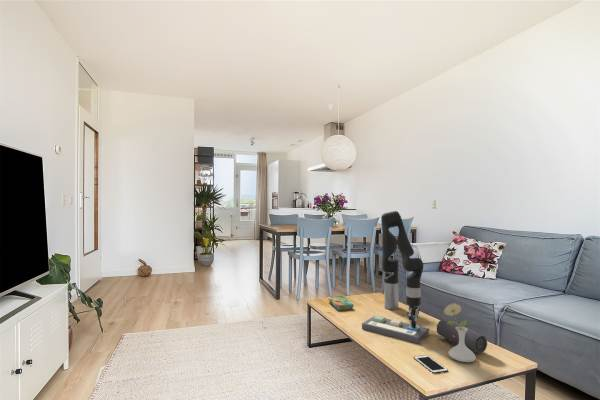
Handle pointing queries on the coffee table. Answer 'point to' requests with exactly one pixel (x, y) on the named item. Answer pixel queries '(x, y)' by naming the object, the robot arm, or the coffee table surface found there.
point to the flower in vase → (460, 350)
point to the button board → (396, 330)
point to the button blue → (414, 328)
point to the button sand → (396, 323)
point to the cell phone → (430, 364)
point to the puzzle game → (341, 303)
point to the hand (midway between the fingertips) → (413, 327)
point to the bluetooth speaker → (472, 338)
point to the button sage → (379, 319)
